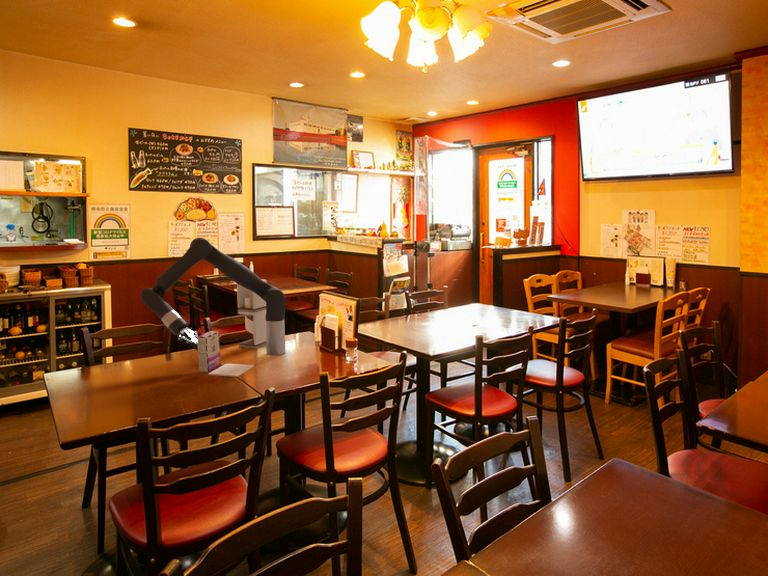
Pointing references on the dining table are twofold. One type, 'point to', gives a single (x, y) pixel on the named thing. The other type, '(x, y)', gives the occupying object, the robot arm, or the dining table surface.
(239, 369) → the mat
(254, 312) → the display case
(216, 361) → the candy bar box
